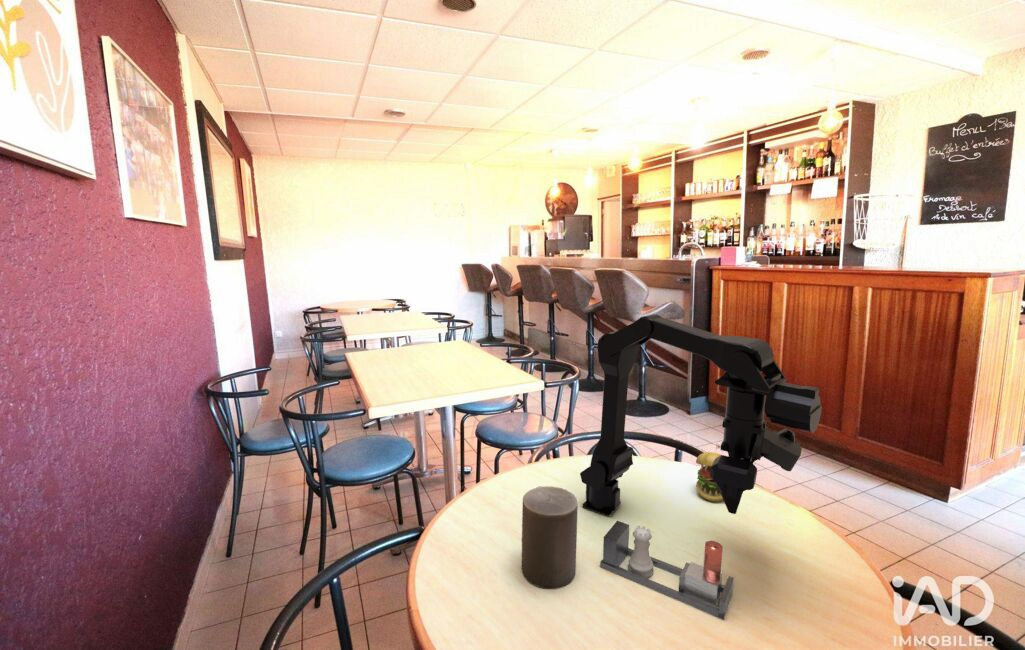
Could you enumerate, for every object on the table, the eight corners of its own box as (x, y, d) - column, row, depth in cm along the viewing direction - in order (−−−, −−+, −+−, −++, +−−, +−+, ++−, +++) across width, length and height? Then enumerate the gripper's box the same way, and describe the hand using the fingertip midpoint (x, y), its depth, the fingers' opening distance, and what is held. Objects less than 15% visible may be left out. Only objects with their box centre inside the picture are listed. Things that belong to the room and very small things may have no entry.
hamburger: (690, 498, 106) (694, 448, 104) (697, 484, 112) (700, 437, 110) (727, 508, 102) (732, 457, 100) (732, 493, 108) (736, 444, 106)
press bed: (600, 567, 85) (600, 537, 83) (614, 547, 90) (615, 519, 89) (723, 619, 73) (726, 585, 72) (732, 593, 78) (735, 561, 77)
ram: (678, 594, 78) (681, 542, 76) (685, 579, 81) (688, 529, 79) (715, 609, 74) (719, 555, 73) (721, 594, 78) (725, 542, 76)
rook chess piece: (624, 562, 86) (625, 523, 84) (648, 561, 86) (650, 521, 84) (632, 580, 81) (634, 538, 80) (657, 578, 82) (659, 537, 80)
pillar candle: (539, 597, 78) (540, 514, 75) (512, 561, 86) (512, 486, 83) (587, 578, 82) (590, 499, 79) (556, 545, 91) (558, 474, 88)
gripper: (797, 446, 66) (786, 545, 69) (803, 407, 81) (794, 489, 84) (713, 429, 72) (706, 521, 75) (733, 395, 87) (727, 472, 90)
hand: (736, 500), depth 81 cm, fingers open, 9 cm apart
